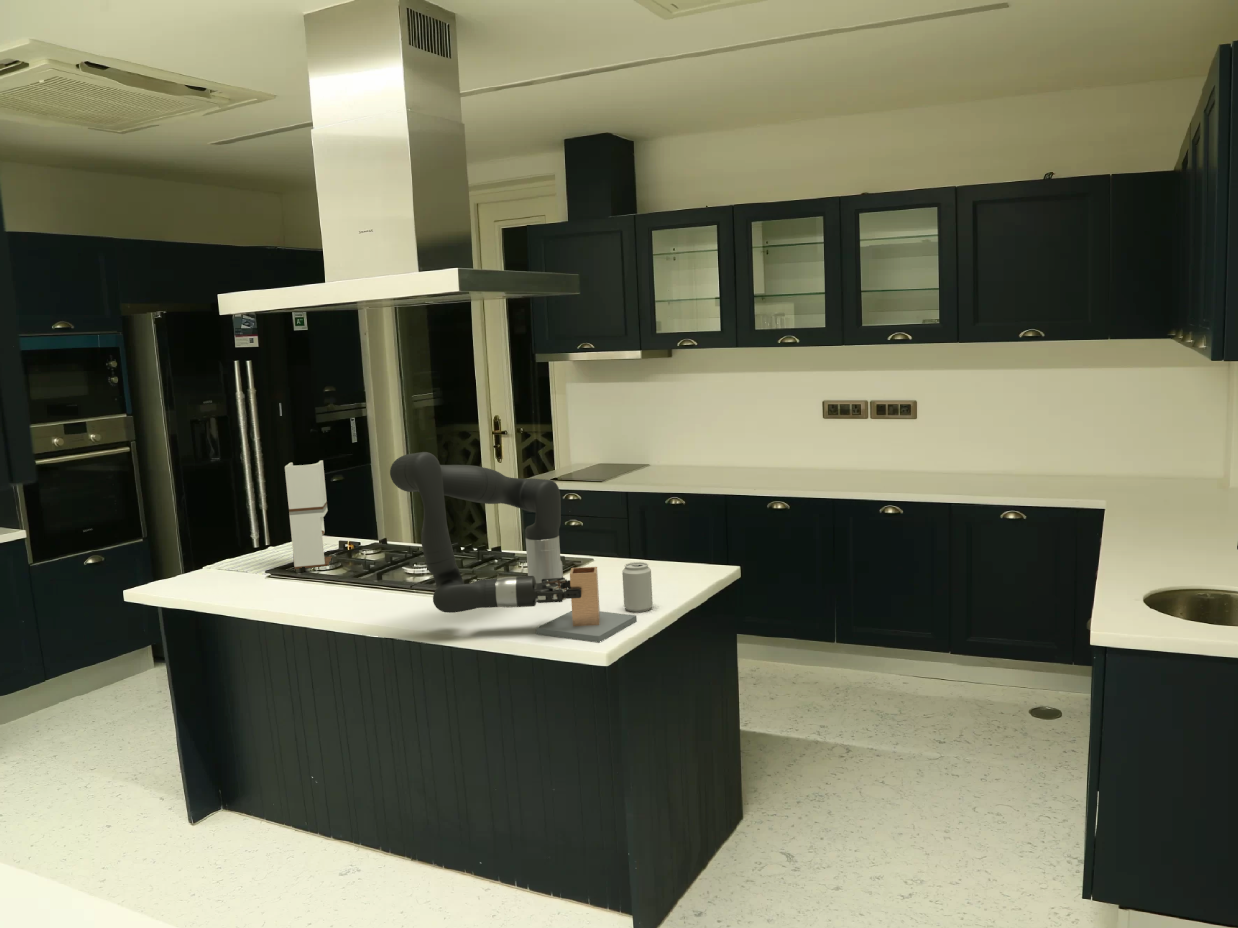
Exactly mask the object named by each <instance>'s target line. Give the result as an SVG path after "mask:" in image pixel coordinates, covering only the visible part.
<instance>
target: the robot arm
mask: <svg viewBox="0 0 1238 928" xmlns="http://www.w3.org/2000/svg"><path fill="white" fill-rule="evenodd" d="M389 475H390V479H391V481H392V483H393V484H394V486H395V487H397V488H399V489H400V490H402V491H404V492H409V493H413V492H415V493H417V492H418V493H419V495H420V497H421V502H422V505H423V521H422V528H421V534H420V535H421V537H420V538H421V549H422V553H423V556H424V560H425V563H426V566H427V569H428V572H429V574H431V575H432V577H433V580H434V583H435V586H436V589H435V591H434V592H433V595H432V602H433V605H434V606H435V608H436V609H437V610H438V611H440V612H443V613H450V614H452V613H453V614H454V613H461V612H466V611H472V610H475V609H480V608H481V609H483V608H484V609H487V608H488V609H489V608H504V609H505V608H506V609H507V608H511V609H512V608H526V607H531V608H532V607H536V605H537V603H538V604H543V603H544V604H545V603H546V604H547V603H548V604H549V603H563V601H565V600H567V599H571V598H581V589H580V588H578V589H571V586H570V579H569V580H568V579H567V578H566V577H564V572H563V571H564V570H563V561H562V560H561V548H560V528H561V524H562V523H561V522H562V521H561V520H562V518H561V515H562V513H561V512H562V511H561V510H562V509H561V508H562V507H561V505H562V504H561V503H562V502H561V500H562V499H561V491H560V488H559V486H558V484H557V482H555V481H554V480H552V479H546V478H545V479H543V478H520V477H510V476H506V475H504V474H503V473H501V472H499V471H497V470H495V469H492V468H488V467H484V466H483V467H482V466H479V465H469V464H468V465H466V464H440V461H439V460H438V458H437V457H436V456H435V455H434V454H432V453H430V452H427V451H422V452H421V451H420V452H416V453H415V452H414V453H407V454H404V455H401V456H398V458H397V459H395V460H394V461H393V463H392V464H391V466H390V469H389ZM445 496H447V497H451V498H454V499H458V500H463V501H467V502H468V501H469V502H473V503H478V504H479V503H480V504H486V505H498V504H502V505H503V504H504V505H508V506H512V507H514V508H517V509H521V510H523V511H526V512H529V513H532V512H533V513H535V518H534V523H533V524H531V525H528V526H526V527H525V529H524V537H525V549H526V550H525V551H526V561H527V566H526V567H527V575H522V576H519V575H518V576H505V577H499V578H485V579H478V580H475V581H474V582H472V583H471V582H470V583H464V580H463V577H462V575H461V572H460V569H459V566H458V565H457V561H456V557H455V553H454V550H453V545H452V542H451V537H450V533H449V528H448V522H447V513H446V512H447V511H446V502H445Z"/></svg>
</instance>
